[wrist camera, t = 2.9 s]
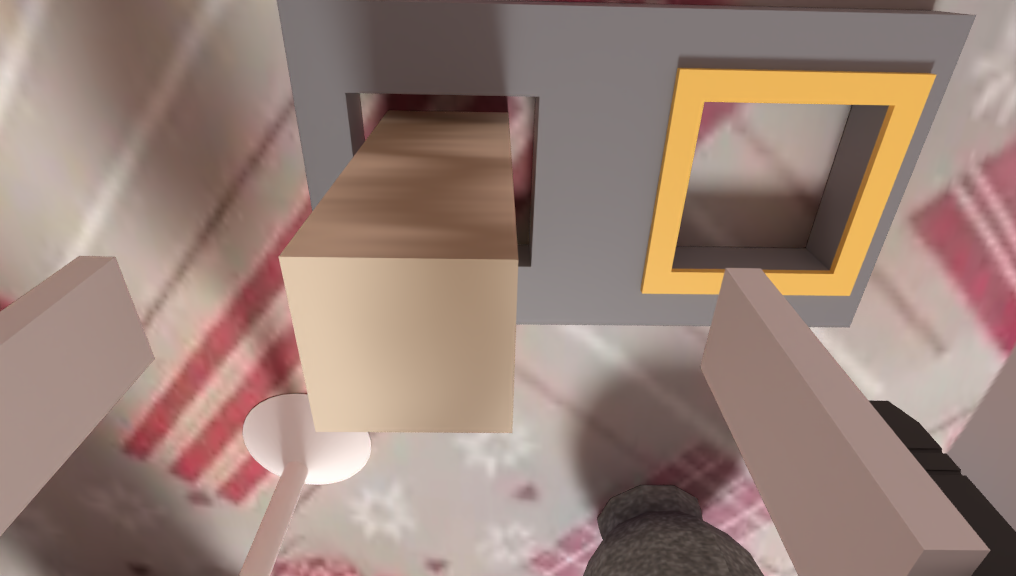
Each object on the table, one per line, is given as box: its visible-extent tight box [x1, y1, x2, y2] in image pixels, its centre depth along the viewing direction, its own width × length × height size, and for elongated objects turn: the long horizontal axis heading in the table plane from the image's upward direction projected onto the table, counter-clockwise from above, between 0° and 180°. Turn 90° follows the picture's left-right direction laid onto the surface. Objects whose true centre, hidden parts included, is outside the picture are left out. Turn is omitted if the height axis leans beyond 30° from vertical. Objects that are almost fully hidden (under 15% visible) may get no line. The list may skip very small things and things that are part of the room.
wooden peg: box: [279, 110, 518, 433], centre depth 17 cm, size 4×4×12 cm
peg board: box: [277, 0, 976, 327], centre depth 21 cm, size 22×12×2 cm, turn 89°
